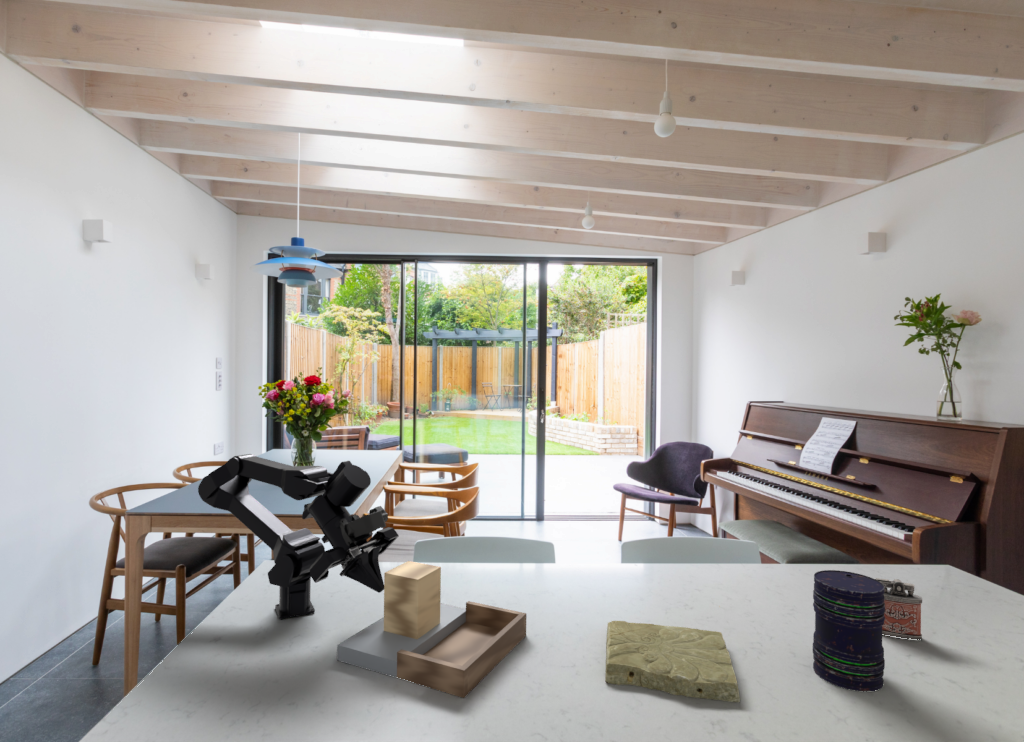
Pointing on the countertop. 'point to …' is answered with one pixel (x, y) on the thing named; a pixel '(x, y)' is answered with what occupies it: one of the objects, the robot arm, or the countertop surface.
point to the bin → (465, 651)
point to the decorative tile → (670, 660)
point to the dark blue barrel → (848, 630)
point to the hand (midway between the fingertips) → (382, 590)
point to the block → (412, 599)
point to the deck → (395, 642)
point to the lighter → (901, 610)
